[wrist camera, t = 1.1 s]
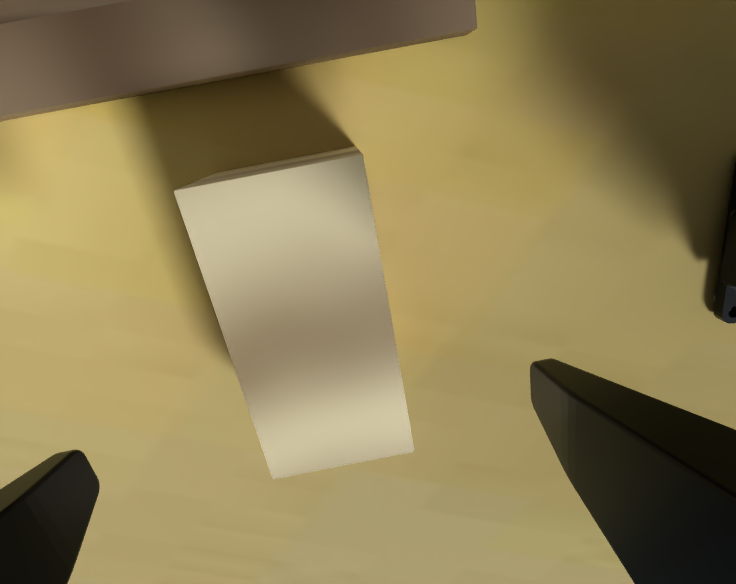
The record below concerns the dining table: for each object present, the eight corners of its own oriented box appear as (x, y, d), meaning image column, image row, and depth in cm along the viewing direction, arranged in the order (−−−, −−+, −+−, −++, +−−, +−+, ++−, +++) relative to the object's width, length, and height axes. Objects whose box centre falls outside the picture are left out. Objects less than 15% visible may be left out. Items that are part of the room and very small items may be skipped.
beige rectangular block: (216, 172, 14) (173, 190, 10) (354, 145, 14) (362, 154, 10) (286, 401, 17) (273, 478, 13) (396, 380, 17) (414, 451, 13)
